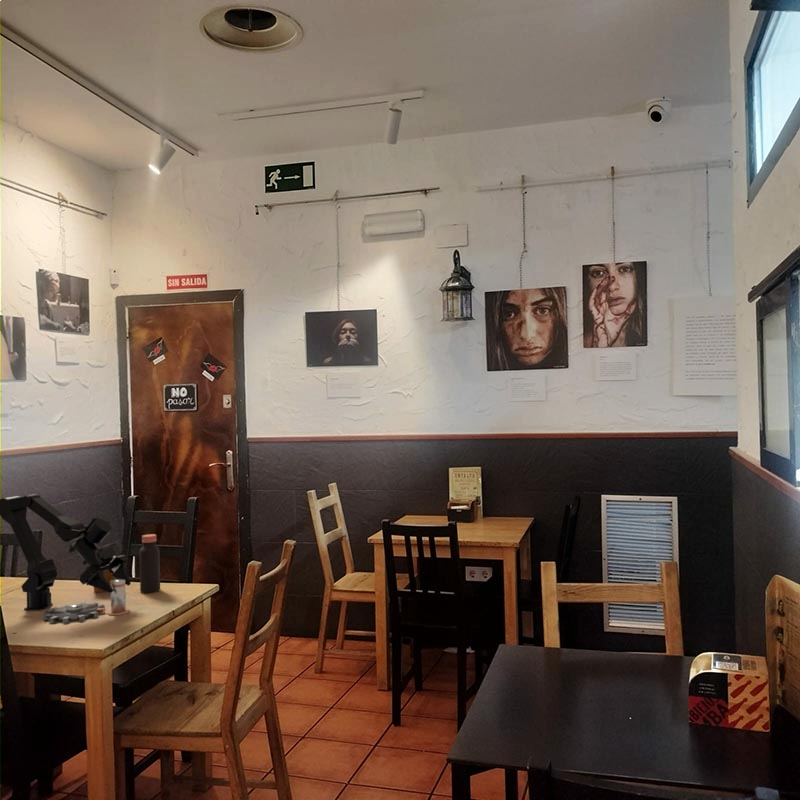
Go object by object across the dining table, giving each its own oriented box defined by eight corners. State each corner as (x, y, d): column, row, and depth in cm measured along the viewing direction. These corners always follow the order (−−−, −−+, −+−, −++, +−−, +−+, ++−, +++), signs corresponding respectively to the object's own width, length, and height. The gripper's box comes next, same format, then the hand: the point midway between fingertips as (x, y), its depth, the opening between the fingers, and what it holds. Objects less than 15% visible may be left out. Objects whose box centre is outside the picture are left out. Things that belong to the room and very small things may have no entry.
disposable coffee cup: (111, 593, 257) (110, 559, 257) (84, 594, 257) (84, 560, 257) (121, 586, 267) (121, 554, 267) (95, 587, 267) (95, 554, 267)
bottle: (139, 594, 255) (138, 537, 255) (140, 589, 262) (139, 534, 262) (159, 592, 257) (158, 536, 257) (160, 587, 264) (159, 533, 264)
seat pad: (103, 615, 230) (103, 614, 230) (112, 609, 237) (112, 608, 237) (124, 615, 230) (124, 614, 230) (133, 609, 237) (133, 608, 237)
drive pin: (110, 614, 230) (109, 582, 230) (111, 610, 235) (110, 579, 235) (125, 612, 232) (125, 581, 232) (126, 608, 236) (125, 578, 236)
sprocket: (30, 622, 224) (30, 612, 224) (67, 606, 242) (67, 597, 242) (82, 624, 221) (82, 614, 221) (116, 607, 239) (116, 598, 239)
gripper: (86, 541, 225) (118, 578, 223) (123, 530, 243) (152, 564, 241) (65, 565, 227) (96, 602, 224) (103, 553, 245) (132, 587, 243)
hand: (121, 588), depth 233 cm, fingers open, 9 cm apart
